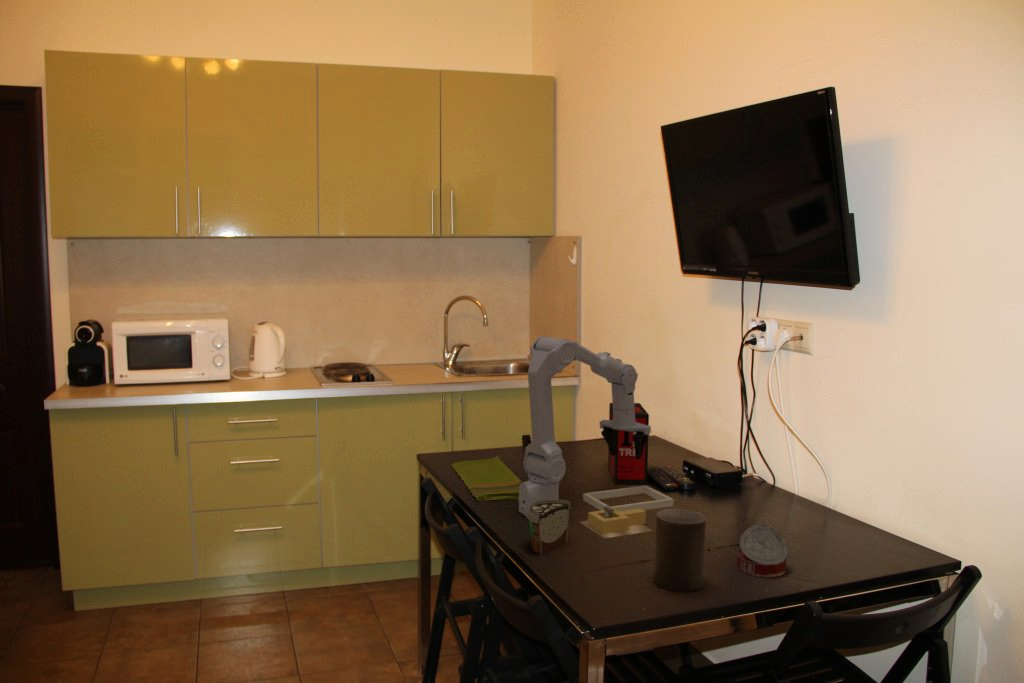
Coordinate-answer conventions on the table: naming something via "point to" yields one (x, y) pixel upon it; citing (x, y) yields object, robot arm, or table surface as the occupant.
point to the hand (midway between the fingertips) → (626, 456)
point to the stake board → (632, 530)
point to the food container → (548, 523)
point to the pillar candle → (679, 549)
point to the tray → (659, 503)
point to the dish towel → (488, 479)
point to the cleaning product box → (629, 454)
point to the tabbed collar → (616, 520)
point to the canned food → (762, 550)
